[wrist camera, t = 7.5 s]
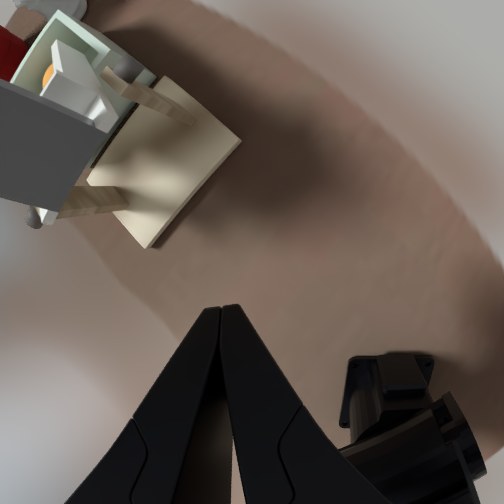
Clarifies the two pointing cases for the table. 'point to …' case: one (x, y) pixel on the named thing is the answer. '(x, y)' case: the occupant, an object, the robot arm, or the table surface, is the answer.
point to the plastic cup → (10, 53)
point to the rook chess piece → (55, 7)
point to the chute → (51, 132)
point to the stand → (150, 157)
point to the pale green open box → (88, 43)
